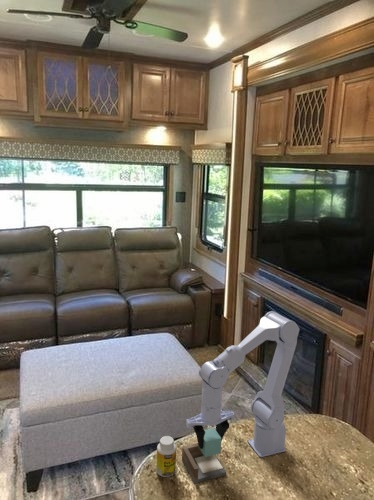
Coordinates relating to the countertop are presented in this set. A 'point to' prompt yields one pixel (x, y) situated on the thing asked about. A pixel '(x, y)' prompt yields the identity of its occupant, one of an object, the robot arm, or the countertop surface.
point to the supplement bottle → (166, 457)
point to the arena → (201, 464)
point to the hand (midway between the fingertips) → (209, 444)
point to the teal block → (211, 443)
